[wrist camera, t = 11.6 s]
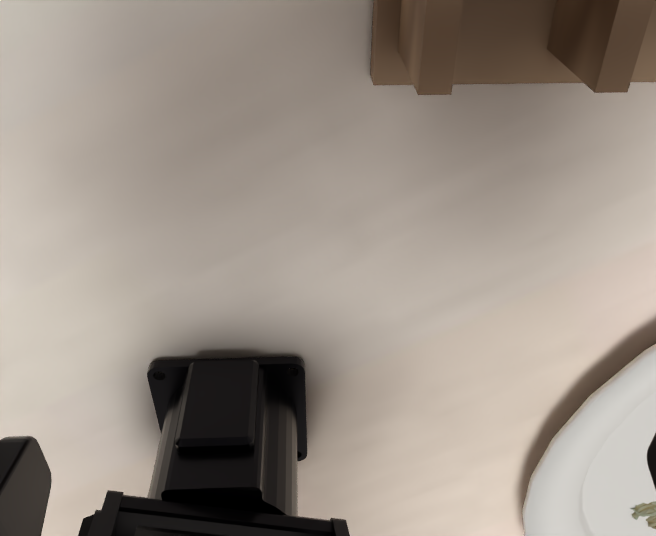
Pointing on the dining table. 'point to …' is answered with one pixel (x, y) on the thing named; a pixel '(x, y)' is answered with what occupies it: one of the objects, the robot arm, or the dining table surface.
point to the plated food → (600, 463)
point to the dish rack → (513, 43)
